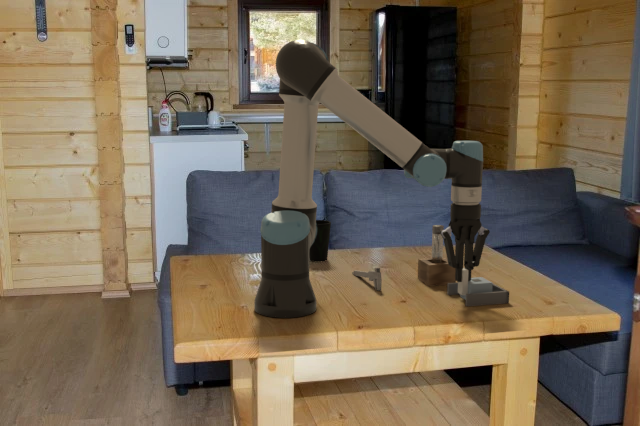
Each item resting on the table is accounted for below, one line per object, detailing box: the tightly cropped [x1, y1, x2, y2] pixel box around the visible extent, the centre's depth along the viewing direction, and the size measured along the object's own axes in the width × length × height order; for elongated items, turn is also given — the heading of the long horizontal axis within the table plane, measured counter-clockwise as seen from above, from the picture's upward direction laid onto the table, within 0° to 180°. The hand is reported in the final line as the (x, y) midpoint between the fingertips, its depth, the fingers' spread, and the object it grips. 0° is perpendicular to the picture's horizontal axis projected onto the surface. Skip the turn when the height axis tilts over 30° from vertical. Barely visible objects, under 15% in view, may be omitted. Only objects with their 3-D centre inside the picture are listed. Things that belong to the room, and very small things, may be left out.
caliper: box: [351, 267, 382, 292], centre depth 214 cm, size 20×1×6 cm, turn 18°
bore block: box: [417, 257, 457, 287], centre depth 215 cm, size 8×8×6 cm
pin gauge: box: [431, 224, 445, 263], centre depth 214 cm, size 3×3×15 cm
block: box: [459, 276, 494, 301], centre depth 197 cm, size 6×6×5 cm
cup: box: [309, 219, 332, 263], centre depth 240 cm, size 8×8×12 cm
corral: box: [446, 281, 510, 307], centre depth 197 cm, size 12×12×3 cm
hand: (462, 293), depth 196 cm, fingers closed
